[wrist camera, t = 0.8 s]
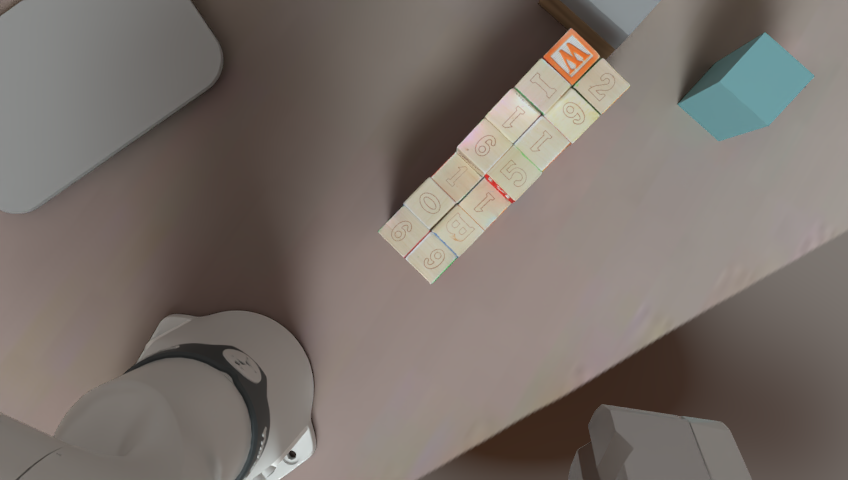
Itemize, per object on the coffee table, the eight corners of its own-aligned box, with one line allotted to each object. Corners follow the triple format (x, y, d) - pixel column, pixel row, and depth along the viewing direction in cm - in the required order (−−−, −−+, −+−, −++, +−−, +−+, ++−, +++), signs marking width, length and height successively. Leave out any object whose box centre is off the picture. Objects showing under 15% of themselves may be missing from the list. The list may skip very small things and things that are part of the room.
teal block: (718, 141, 62) (768, 125, 52) (677, 104, 62) (719, 81, 52) (757, 99, 62) (814, 76, 52) (715, 62, 62) (765, 32, 52)
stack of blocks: (434, 276, 64) (428, 289, 52) (386, 229, 64) (369, 231, 52) (599, 111, 63) (633, 84, 50) (550, 63, 63) (572, 24, 51)
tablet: (-72, 86, 66) (-91, 81, 64) (146, -71, 65) (135, -81, 62) (21, 226, 66) (5, 227, 64) (242, 73, 65) (234, 67, 62)
